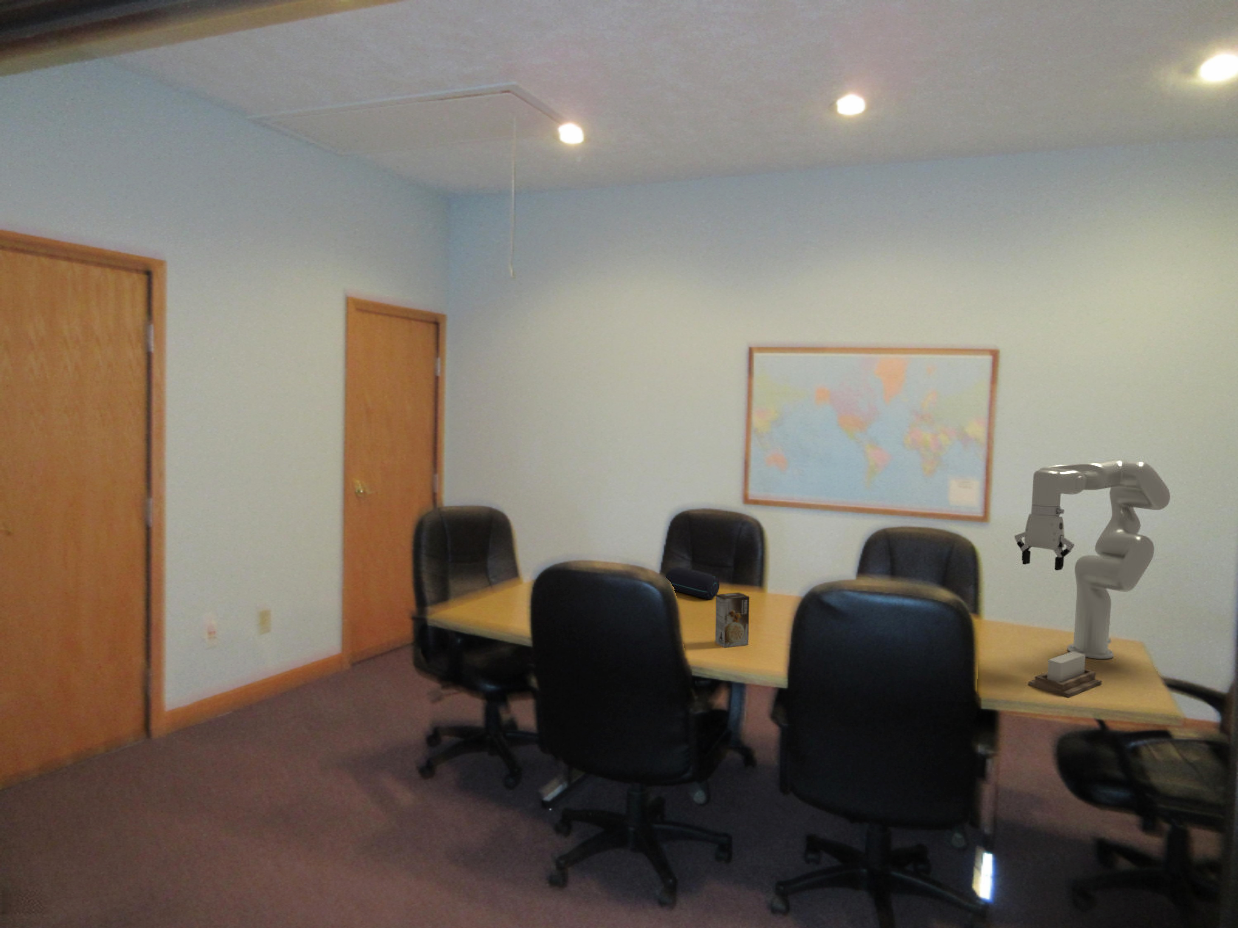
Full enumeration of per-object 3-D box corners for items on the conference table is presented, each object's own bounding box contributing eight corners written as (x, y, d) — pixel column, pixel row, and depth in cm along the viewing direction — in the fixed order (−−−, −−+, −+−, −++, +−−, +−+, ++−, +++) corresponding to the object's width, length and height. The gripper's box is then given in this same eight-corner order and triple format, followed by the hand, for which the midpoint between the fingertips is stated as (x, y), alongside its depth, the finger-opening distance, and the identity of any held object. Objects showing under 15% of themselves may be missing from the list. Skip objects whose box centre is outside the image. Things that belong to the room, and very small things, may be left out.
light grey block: (1071, 674, 227) (1072, 651, 227) (1083, 678, 224) (1085, 654, 224) (1046, 683, 219) (1048, 659, 219) (1059, 687, 216) (1061, 663, 216)
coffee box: (738, 639, 259) (740, 591, 257) (748, 645, 253) (750, 596, 252) (714, 642, 255) (715, 593, 254) (724, 647, 249) (725, 598, 248)
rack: (1061, 672, 232) (1062, 662, 232) (1101, 684, 223) (1102, 673, 223) (1028, 684, 221) (1028, 674, 221) (1068, 697, 212) (1069, 686, 212)
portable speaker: (723, 598, 312) (724, 574, 312) (706, 602, 306) (707, 577, 305) (679, 586, 331) (679, 563, 330) (662, 590, 325) (662, 566, 324)
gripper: (1081, 513, 231) (1077, 570, 232) (1023, 506, 245) (1020, 560, 246) (1069, 515, 227) (1065, 573, 228) (1010, 508, 241) (1007, 562, 242)
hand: (1041, 566), depth 237 cm, fingers open, 9 cm apart
